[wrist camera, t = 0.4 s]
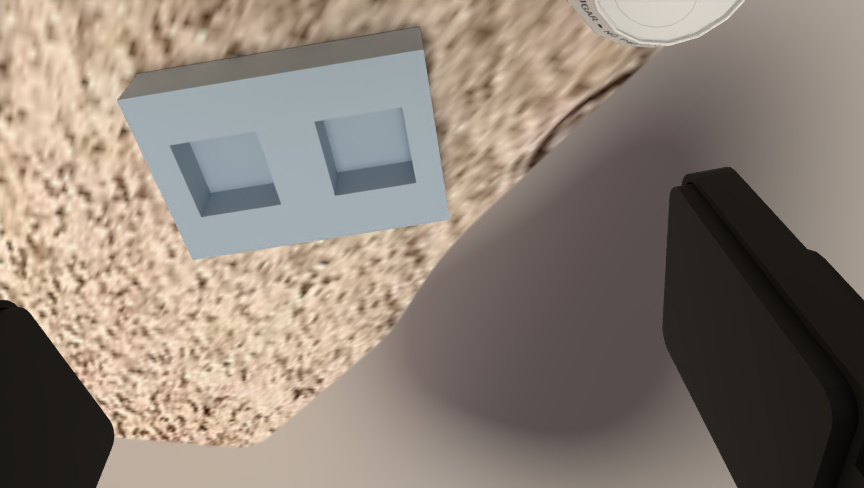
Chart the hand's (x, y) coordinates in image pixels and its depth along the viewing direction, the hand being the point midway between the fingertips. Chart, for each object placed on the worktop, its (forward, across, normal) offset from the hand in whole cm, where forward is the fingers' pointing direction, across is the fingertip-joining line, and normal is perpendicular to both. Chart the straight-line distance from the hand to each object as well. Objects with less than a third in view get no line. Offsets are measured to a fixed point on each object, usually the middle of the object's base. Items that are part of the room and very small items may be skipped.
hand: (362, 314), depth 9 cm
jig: (+33, +8, +12) cm, 36 cm away
